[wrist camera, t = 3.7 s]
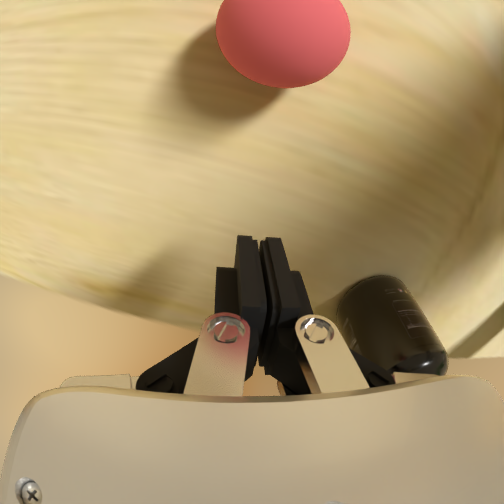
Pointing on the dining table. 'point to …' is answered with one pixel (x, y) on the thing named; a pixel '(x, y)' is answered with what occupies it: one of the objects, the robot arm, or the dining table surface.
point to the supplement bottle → (390, 328)
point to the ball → (283, 39)
